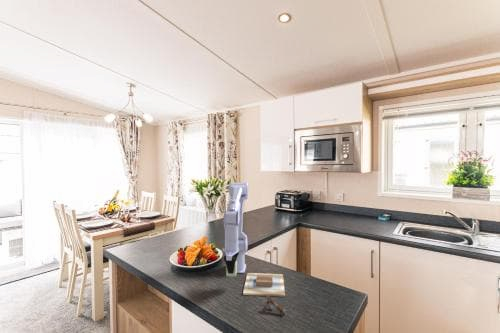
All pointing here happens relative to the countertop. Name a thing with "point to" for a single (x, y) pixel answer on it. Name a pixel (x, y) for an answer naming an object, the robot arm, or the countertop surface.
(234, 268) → the green block
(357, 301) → the countertop surface
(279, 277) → the build board
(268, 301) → the brown triangle frame
